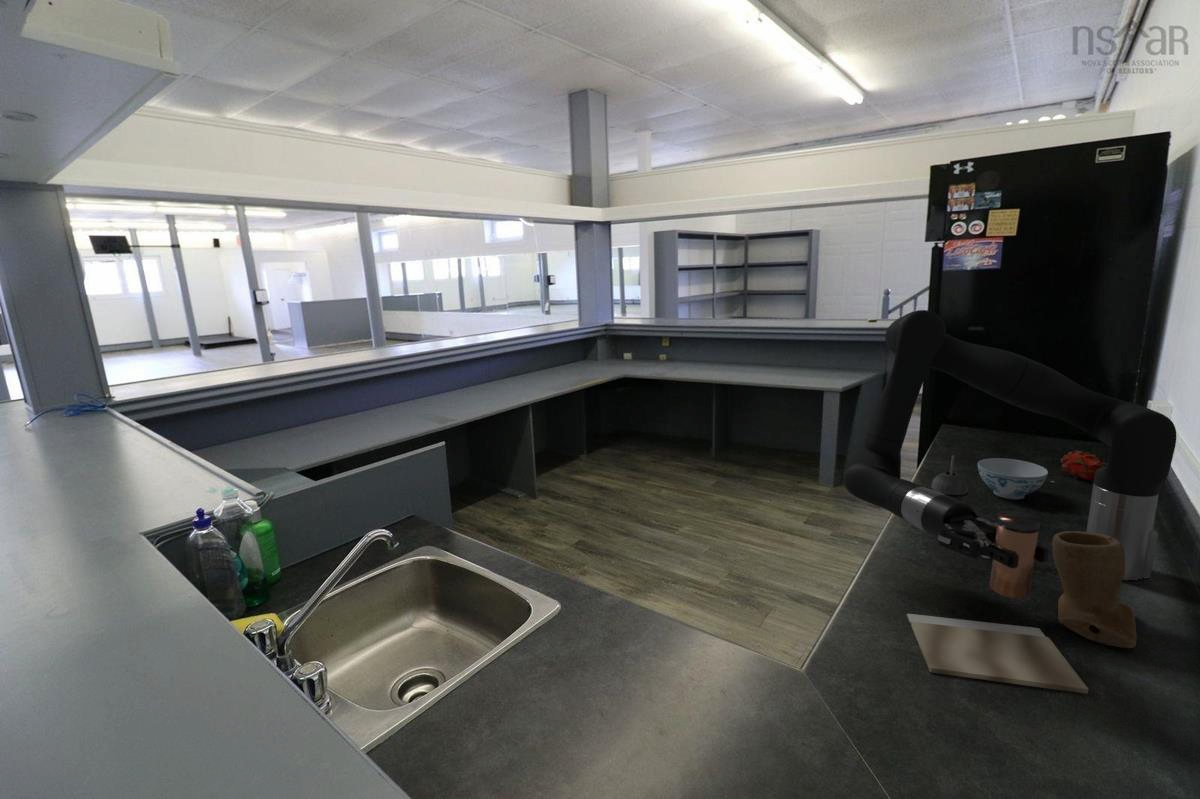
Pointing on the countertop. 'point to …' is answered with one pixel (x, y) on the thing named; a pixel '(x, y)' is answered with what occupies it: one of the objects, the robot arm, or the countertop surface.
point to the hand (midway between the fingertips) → (1031, 559)
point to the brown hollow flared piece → (1093, 588)
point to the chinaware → (1011, 476)
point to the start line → (975, 625)
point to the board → (996, 657)
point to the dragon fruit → (1082, 464)
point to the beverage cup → (951, 484)
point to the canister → (1021, 539)
